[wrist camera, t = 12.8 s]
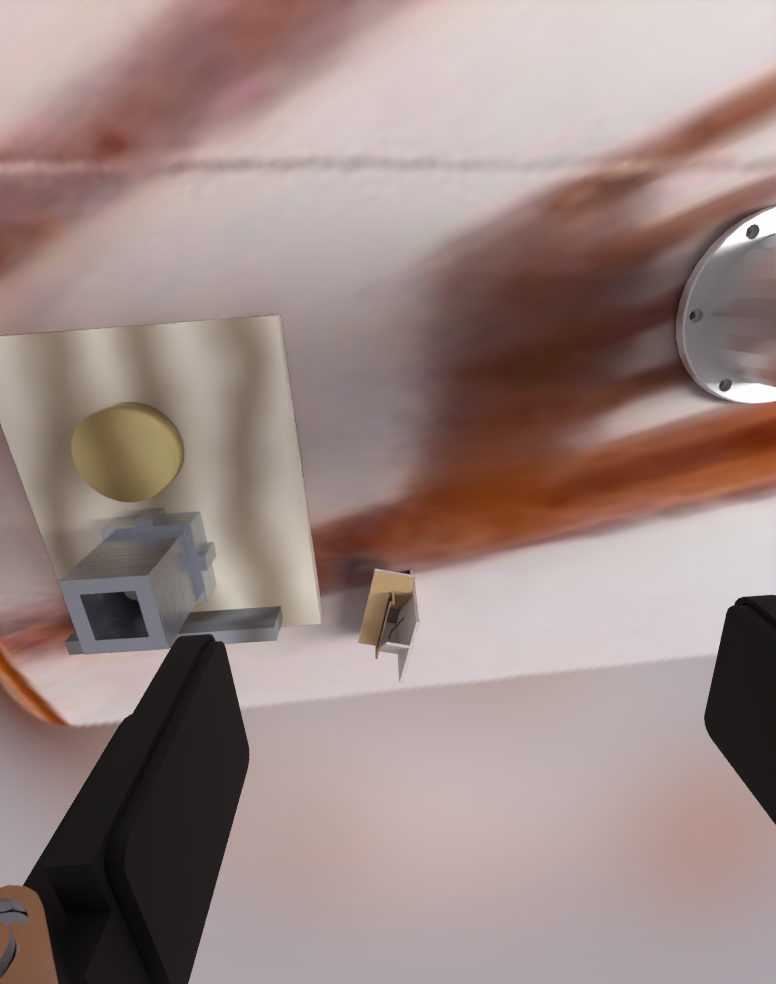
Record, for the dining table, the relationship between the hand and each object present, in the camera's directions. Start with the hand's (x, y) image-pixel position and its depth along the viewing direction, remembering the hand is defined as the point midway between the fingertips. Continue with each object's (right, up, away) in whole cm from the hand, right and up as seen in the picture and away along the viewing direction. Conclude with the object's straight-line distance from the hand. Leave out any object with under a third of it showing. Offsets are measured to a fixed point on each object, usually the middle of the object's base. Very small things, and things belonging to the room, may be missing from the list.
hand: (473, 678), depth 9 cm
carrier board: (-18, +4, +29) cm, 34 cm away
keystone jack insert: (-19, -1, +29) cm, 34 cm away
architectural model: (-1, -5, +33) cm, 34 cm away
